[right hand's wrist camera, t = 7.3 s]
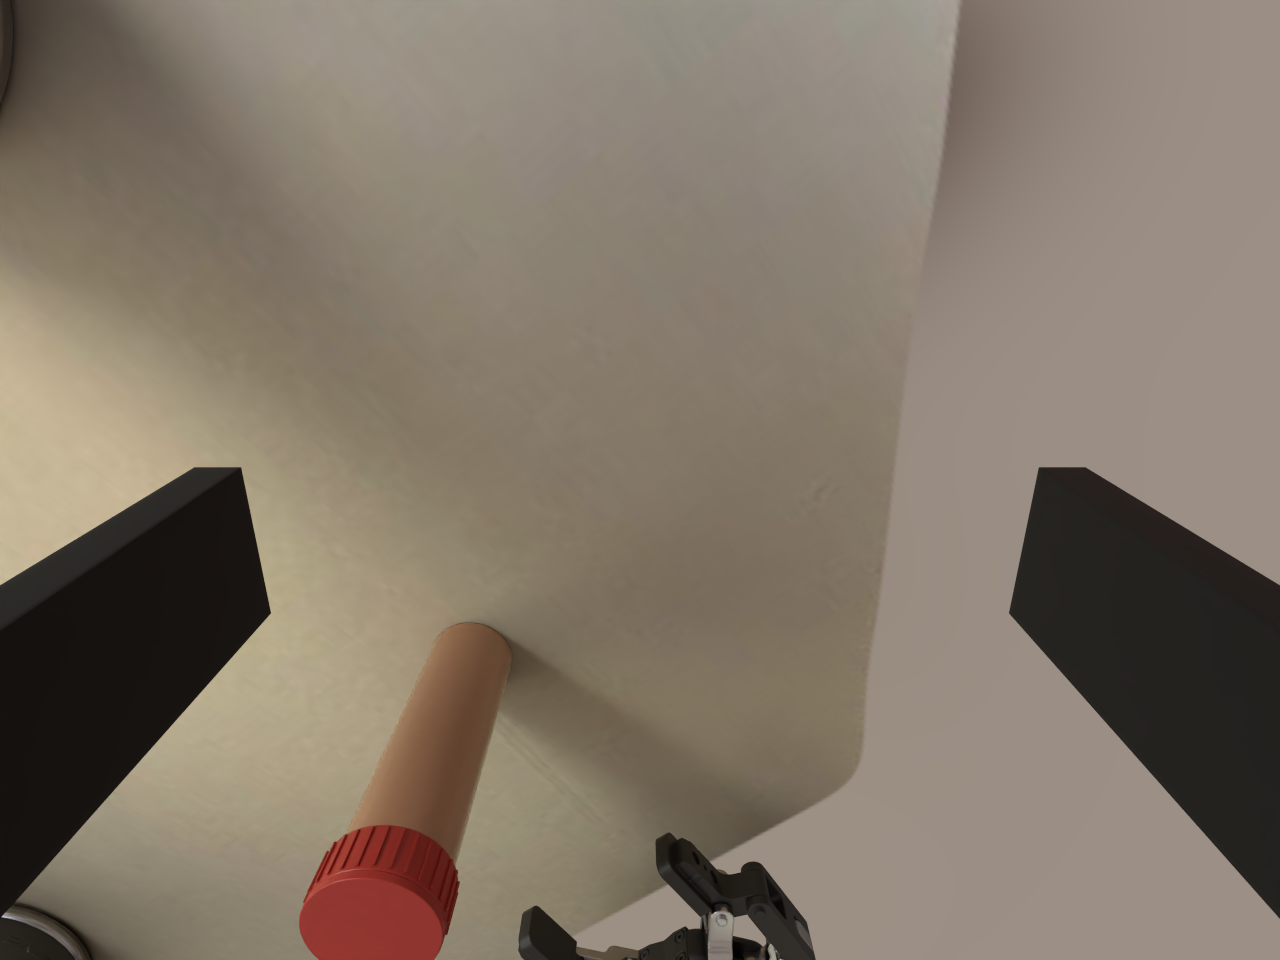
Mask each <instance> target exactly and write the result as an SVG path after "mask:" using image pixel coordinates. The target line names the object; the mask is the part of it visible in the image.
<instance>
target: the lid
mask: <svg viewBox="0 0 1280 960" xmlns="http://www.w3.org/2000/svg"><path fill="white" fill-rule="evenodd" d="M457 874H458V870H456V868H455V865H454V863H453V860H452V859H451V857H450V856H449V854H448V853H447V852H446V851H445V849H444V848H443V847H442V846H440V845H439V844H438V843H437V842H436V841H434V840H433V839H431V838H430V837H428V836H426V835H424V834H422V833H420V832H418V831H415V830H412V829H409V828H405V827H400V826H394V825H374V826H368V827H363V828H360V829H356V830H354V831H352V832H350V833H348V834H345V835H343V837H342V838H341V839H339V840H338V841H337V842H334V843H333V845H332V847H331V849H330V851H327V852H326V854H325V856H324V858H323V860H322V862H321V864H320V866H319V868H318V870H317V872H316V875H315V877H314V879H313V881H312V883H311V885H310V887H309V889H308V891H307V892H308V893H307V895H306V897H305V899H304V902H303V903H304V905H303V907H302V910H301V913H300V919H299V926H300V932H301V936H302V938H303V940H304V942H305V944H306V946H307V947H308V949H309V950H310V951H311V952H312V953H313V954H314V955H315V956H316V957H317V958H318V959H319V960H434V959H435V958H436V956H437V955H438V953H439V951H440V949H441V946H442V944H443V940H444V937H445V935H447V933H448V930H449V926H450V922H451V918H452V914H453V911H454V907H455V903H456V899H457V895H458V892H457V891H458V888H459V884H460V881H458V877H457Z"/></svg>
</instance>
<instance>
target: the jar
mask: <svg viewBox="0 0 1280 960" xmlns="http://www.w3.org/2000/svg"><path fill="white" fill-rule="evenodd" d="M511 663H512V657H511V651H510V649H509V646H508V644H507V643H506V641H505V640H504V638H503V637H502V636H501V635H500V634H499V633H497V632H496V631H495V630H493V629H491V628H489V627H487V626H484V625H481V624H477V623H461V624H457V625H454V626H451V627H449V628H447V629H446V630H444V631H443V632H442V633H441V634H440V635H439V636H438V637H437V638H436V640H435V642H434V644H433V646H432V648H431V650H430V653H429V655H428V657H427V659H426V661H425V663H424V665H423V668H422V670H421V672H420V674H419V676H418V678H417V681H416V683H415V685H414V687H413V689H412V691H411V694H410V696H409V698H408V700H407V702H406V704H405V706H404V709H403V711H402V713H401V715H400V717H399V719H398V722H397V724H396V726H395V728H394V730H393V732H392V734H391V737H390V739H389V741H388V743H387V745H386V747H385V750H384V752H383V754H382V756H381V758H380V760H379V763H378V765H377V767H376V769H375V771H374V773H373V775H372V778H371V780H370V782H369V784H368V786H367V788H366V791H365V793H364V795H363V797H362V799H361V801H360V803H359V806H358V808H357V810H356V812H355V814H354V816H353V819H352V821H351V823H350V825H349V827H348V829H347V832H346V834H348V833H350V832H352V831H354V830H356V829H360V828H363V827H368V826H374V825H394V826H400V827H405V828H409V829H412V830H415V831H418V832H420V833H422V834H424V835H426V836H428V837H430V838H431V839H433V840H434V841H436V842H437V843H438V844H439V845H440V846H442V847H443V848H444V849H445V851H446V852H447V853H448V854H449V856H450V857H451V859H452V860H453V863H454V865H455V867H456V863H457V860H458V856H459V852H460V849H461V845H462V841H463V838H464V834H465V831H466V827H467V823H468V820H469V816H470V813H471V809H472V805H473V802H474V798H475V794H476V791H477V787H478V784H479V780H480V776H481V773H482V769H483V766H484V762H485V758H486V755H487V751H488V747H489V744H490V740H491V737H492V733H493V729H494V726H495V722H496V719H497V715H498V711H499V708H500V704H501V700H502V697H503V693H504V690H505V686H506V682H507V679H508V675H509V672H510V668H511Z"/></svg>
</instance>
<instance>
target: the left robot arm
mask: <svg viewBox="0 0 1280 960" xmlns="http://www.w3.org/2000/svg"><path fill="white" fill-rule="evenodd" d="M656 865H657V869H658V872H659V874H660V875H661V877H662V878H663V879H664V880H665V881H666V882H667V883H668V884H669V885H670V886H671V887H672V888H673V889H674V890H675V891H676V892H677V893H678V894H679V895H680V897H681V898H682V899H683V900H684V901H685V902H686V903H687V904H688V905H689V906H690V907H691V908H692V909H693V910H694V911H695V912H696V913H697V914H698V915H699V916H700V917H701V925H700V929H690V930H689V929H688V928H687V927H683V928H681V929H679V930H677V931H675V932H674V933H672V934H671V935H670V936H669V937H668V938H667V939H666V940H664V941H661V942H658V943H654V944H651V945H648V946H646V947H645V948H643V949H641V950H639V951H638V950H633V949H628V948H623V947H618V946H611V947H609V948H608V950H607V951H606V952H600V951H595V950H590V949H585V948H580V947H576V945H577V942H576V941H575V940H574V939H573V938H572V937H571V936H570V935H569V934H568V933H567V932H566V931H565V930H563V929H562V928H561V927H560V926H559V925H558V924H557V923H556V922H555V921H554V920H553V919H552V918H551V917H549V916H548V915H547V914H546V913H545V912H544V911H543V910H542V909H541V908H540V907H538V906H534V907H532V908H530V909H529V910H527V911H525V912H524V913H523V915H522V920H521V927H520V933H519V953H520V955H521V957H522V958H523V959H524V960H815V955H814V951H813V947H812V942H811V939H810V934H809V930H808V926H807V922H806V921H805V919H804V918H803V917H802V915H801V914H800V913H799V912H798V910H797V909H796V908H795V906H794V905H793V904H792V903H791V901H790V900H789V899H788V898H787V896H786V895H785V894H784V892H783V891H782V890H781V888H780V887H779V886H778V885H777V883H776V882H775V881H774V880H773V878H772V877H771V876H770V874H769V873H768V872H767V871H766V869H765V868H764V867H763V866H762V864H760V863H758V862H748V863H746V864H744V865H743V866H742V868H741V873H737V874H731V875H728V874H727V873H726V872H725V871H723V870H718V869H717V870H716V868H715V867H714V866H713V865H712V864H711V863H710V862H709V861H708V860H707V859H706V858H705V857H704V856H703V855H702V853H701V852H700V851H699V850H697V848H696V847H695V846H694V845H693V844H692V843H691V842H689V841H687V840H685V839H683V838H681V839H679V840H677V839H676V838H675V837H674V836H673V835H672V834H671V833H667V834H665V835H663V836H661V837H660V838H658V839H656ZM747 914H748V916H749V918H750V919H751V920H752V921H753V922H754V924H755V925H756V926H757V927H758V929H759V930H760V931H761V932H762V933H763V935H764V936H765V937H766V942H767V943H766V945H765V946H764V947H762V946H761V945H760V944H759V943H757V942H755V941H752V940H749V939H744V938H740V937H735V936H733V926H734V917H737V916H742V915H747ZM0 960H91V959H90V956H89V954H88V952H87V950H86V948H85V947H84V945H83V944H82V943H81V941H80V940H79V939H78V938H77V937H76V936H75V935H74V934H73V933H72V932H71V931H70V930H68V929H67V928H66V927H65V926H63V925H62V924H60V923H59V922H57V921H55V920H54V919H52V918H50V917H48V916H46V915H44V914H41V913H39V912H36V911H33V910H30V909H27V908H24V907H19V906H15V905H12V906H11V907H10V908H9V909H8V910H7V911H6V913H5V914H4V915H3V916H2V917H1V918H0Z"/></svg>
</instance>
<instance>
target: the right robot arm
mask: <svg viewBox="0 0 1280 960" xmlns="http://www.w3.org/2000/svg"><path fill="white" fill-rule="evenodd" d="M12 45H13V26H12V11H11V3H10V0H0V103H1V100H2V98H3V96H4V92H5V89H6V85H7V81H8V78H9V72H10V66H11V59H12ZM270 614H271V611H270V606H269V601H268V597H267V592H266V587H265V582H264V577H263V572H262V567H261V562H260V558H259V553H258V548H257V543H256V538H255V533H254V528H253V523H252V518H251V514H250V509H249V504H248V499H247V494H246V489H245V484H244V479H243V475H242V470H241V467H194V468H193V469H191V470H189V471H188V472H186V473H185V474H183V475H181V476H180V477H178V478H176V479H175V480H173V481H171V482H170V483H168V484H166V485H165V486H163V487H161V488H160V489H158V490H157V491H155V492H153V493H152V494H150V495H148V496H147V497H145V498H143V499H142V500H140V501H138V502H137V503H135V504H133V505H132V506H130V507H129V508H127V509H125V510H124V511H122V512H120V513H119V514H117V515H115V516H114V517H112V518H110V519H109V520H107V521H105V522H104V523H102V524H101V525H99V526H97V527H96V528H94V529H92V530H91V531H89V532H87V533H86V534H84V535H82V536H81V537H79V538H77V539H76V540H74V541H73V542H71V543H69V544H68V545H66V546H64V547H63V548H61V549H59V550H58V551H56V552H54V553H53V554H51V555H49V556H48V557H46V558H45V559H43V560H41V561H40V562H38V563H36V564H35V565H33V566H31V567H30V568H28V569H26V570H25V571H23V572H21V573H20V574H18V575H17V576H15V577H13V578H12V579H10V580H8V581H7V582H5V583H3V584H2V585H0V918H1V917H2V916H3V915H4V914H5V913H6V911H7V910H8V909H9V908H10V907H11V906H12V905H13V904H14V902H15V901H16V900H17V899H18V898H19V897H20V896H21V895H22V893H23V892H24V891H25V890H26V889H27V888H28V887H29V885H30V884H31V883H32V882H33V881H34V880H35V879H36V878H37V876H38V875H39V874H40V873H41V872H42V871H43V870H44V869H45V867H46V866H47V865H48V864H49V863H50V862H51V861H52V860H53V858H54V857H55V856H56V855H57V854H58V853H59V852H60V851H61V849H62V848H63V847H64V846H65V845H66V844H67V843H68V842H69V840H70V839H71V838H72V837H73V836H74V835H75V834H76V832H77V831H78V830H79V829H80V828H81V827H82V826H83V825H84V823H85V822H86V821H87V820H88V819H89V818H90V817H91V816H92V814H93V813H94V812H95V811H96V810H97V809H98V808H99V807H100V805H101V804H102V803H103V802H104V801H105V800H106V799H107V798H108V796H109V795H110V794H111V793H112V792H113V791H114V790H115V788H116V787H117V786H118V785H119V784H120V783H121V782H122V781H123V779H124V778H125V777H126V776H127V775H128V774H129V773H130V772H131V770H132V769H133V768H134V767H135V766H136V765H137V764H138V763H139V761H140V760H141V759H142V758H143V757H144V756H145V755H146V754H147V752H148V751H149V750H150V749H151V748H152V747H153V746H154V745H155V743H156V742H157V741H158V740H159V739H160V738H161V737H162V735H163V734H164V733H165V732H166V731H167V730H168V729H169V728H170V726H171V725H172V724H173V723H174V722H175V721H176V720H177V719H178V717H179V716H180V715H181V714H182V713H183V712H184V711H185V710H186V708H187V707H188V706H189V705H190V704H191V703H192V702H193V701H194V699H195V698H196V697H197V696H198V695H199V694H200V693H201V692H202V690H203V689H204V688H205V687H206V686H207V685H208V684H209V682H210V681H211V680H212V679H213V678H214V677H215V676H216V675H217V673H218V672H219V671H220V670H221V669H222V668H223V667H224V666H225V664H226V663H227V662H228V661H229V660H230V659H231V658H232V657H233V655H234V654H235V653H236V652H237V651H238V650H239V649H240V648H241V646H242V645H243V644H244V643H245V642H246V641H247V640H248V638H249V637H250V636H251V635H252V634H253V633H254V632H255V631H256V629H257V628H258V627H259V626H260V625H261V624H262V623H263V622H264V620H265V619H266V618H267V617H268V616H269V615H270ZM1009 614H1010V615H1011V616H1012V617H1013V618H1014V619H1015V620H1016V622H1017V623H1018V624H1019V625H1020V626H1021V627H1022V628H1023V629H1024V631H1025V632H1026V633H1027V634H1028V635H1029V636H1030V637H1031V638H1032V639H1033V641H1034V642H1035V643H1036V644H1037V645H1038V646H1039V647H1040V649H1041V650H1042V651H1043V652H1044V653H1045V654H1046V655H1047V657H1048V658H1049V659H1050V660H1051V661H1052V662H1053V663H1054V664H1055V666H1056V667H1057V668H1058V669H1059V670H1060V671H1061V672H1062V673H1063V675H1064V676H1065V677H1066V678H1067V679H1068V680H1069V681H1070V682H1071V684H1072V685H1073V686H1074V687H1075V688H1076V689H1077V690H1078V692H1079V693H1080V694H1081V695H1082V696H1083V697H1084V698H1085V699H1086V701H1087V702H1088V703H1089V704H1090V705H1091V706H1092V707H1093V708H1094V710H1095V711H1096V712H1097V713H1098V714H1099V715H1100V716H1101V717H1102V719H1103V720H1104V721H1105V722H1106V723H1107V724H1108V725H1109V726H1110V728H1111V729H1112V730H1113V731H1114V732H1115V733H1116V734H1117V735H1118V737H1119V738H1120V739H1121V740H1122V741H1123V742H1124V743H1125V744H1126V746H1127V747H1128V748H1129V749H1130V750H1131V751H1132V752H1133V754H1134V755H1135V756H1136V757H1137V758H1138V759H1139V760H1140V761H1141V763H1142V764H1143V765H1144V766H1145V767H1146V768H1147V769H1148V770H1149V772H1150V773H1151V774H1152V775H1153V776H1154V777H1155V778H1156V779H1157V781H1158V782H1159V783H1160V784H1161V785H1162V786H1163V787H1164V788H1165V790H1166V791H1167V792H1168V793H1169V794H1170V795H1171V796H1172V798H1173V799H1174V800H1175V801H1176V802H1177V803H1178V804H1179V805H1180V807H1181V808H1182V809H1183V810H1184V811H1185V812H1186V813H1187V814H1188V816H1189V817H1190V818H1191V819H1192V820H1193V821H1194V822H1195V823H1196V825H1197V826H1198V827H1199V828H1200V829H1201V830H1202V831H1203V832H1204V834H1205V835H1206V836H1207V837H1208V838H1209V839H1210V840H1211V841H1212V843H1213V844H1214V845H1215V846H1216V847H1217V848H1218V849H1219V851H1220V852H1221V853H1222V854H1223V855H1224V856H1225V857H1226V858H1227V860H1228V861H1229V862H1230V863H1231V864H1232V865H1233V866H1234V867H1235V869H1236V870H1237V871H1238V872H1239V873H1240V874H1241V875H1242V876H1243V878H1244V879H1245V880H1246V881H1247V882H1248V883H1249V884H1250V885H1251V887H1252V888H1253V889H1254V890H1255V891H1256V892H1257V893H1258V895H1259V896H1260V897H1261V898H1262V899H1263V900H1264V901H1265V902H1266V904H1267V905H1268V906H1269V907H1270V908H1271V909H1272V910H1273V911H1274V912H1275V914H1276V915H1277V916H1278V917H1279V918H1280V585H1278V584H1277V583H1275V582H1273V581H1272V580H1270V579H1268V578H1267V577H1265V576H1263V575H1262V574H1260V573H1259V572H1257V571H1255V570H1254V569H1252V568H1250V567H1249V566H1247V565H1245V564H1244V563H1242V562H1240V561H1239V560H1237V559H1235V558H1234V557H1232V556H1231V555H1229V554H1227V553H1226V552H1224V551H1222V550H1221V549H1219V548H1217V547H1216V546H1214V545H1212V544H1211V543H1209V542H1207V541H1206V540H1204V539H1202V538H1201V537H1199V536H1198V535H1196V534H1194V533H1193V532H1191V531H1189V530H1188V529H1186V528H1184V527H1183V526H1181V525H1179V524H1178V523H1176V522H1175V521H1173V520H1171V519H1170V518H1168V517H1166V516H1165V515H1163V514H1161V513H1160V512H1158V511H1156V510H1155V509H1153V508H1151V507H1150V506H1148V505H1147V504H1145V503H1143V502H1142V501H1140V500H1138V499H1137V498H1135V497H1133V496H1132V495H1130V494H1128V493H1127V492H1125V491H1123V490H1122V489H1120V488H1118V487H1117V486H1115V485H1114V484H1112V483H1110V482H1109V481H1107V480H1105V479H1104V478H1102V477H1100V476H1099V475H1097V474H1095V473H1094V472H1092V471H1090V470H1089V469H1087V468H1085V467H1040V468H1039V470H1038V475H1037V479H1036V484H1035V489H1034V494H1033V499H1032V504H1031V509H1030V514H1029V518H1028V523H1027V528H1026V533H1025V538H1024V543H1023V548H1022V553H1021V558H1020V562H1019V567H1018V572H1017V577H1016V582H1015V587H1014V592H1013V597H1012V601H1011V606H1010V611H1009Z"/></svg>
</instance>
